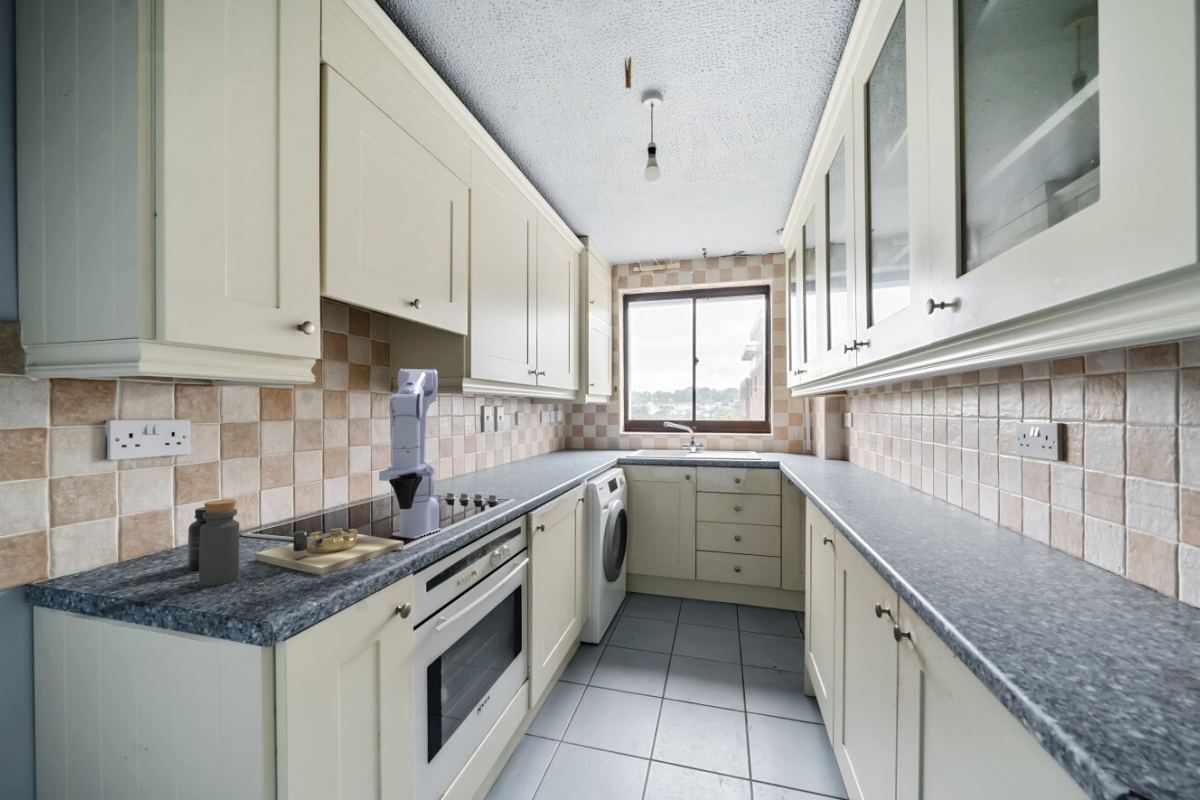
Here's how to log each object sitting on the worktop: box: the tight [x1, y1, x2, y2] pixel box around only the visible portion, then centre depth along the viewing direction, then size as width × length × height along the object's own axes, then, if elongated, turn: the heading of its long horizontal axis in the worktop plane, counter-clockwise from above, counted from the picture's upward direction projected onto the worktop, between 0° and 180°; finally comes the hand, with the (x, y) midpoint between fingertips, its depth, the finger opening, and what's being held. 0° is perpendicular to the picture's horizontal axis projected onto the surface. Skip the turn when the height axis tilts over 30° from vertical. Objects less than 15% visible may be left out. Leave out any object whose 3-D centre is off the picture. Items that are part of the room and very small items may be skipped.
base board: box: [254, 530, 405, 577], centre depth 105 cm, size 20×22×2 cm
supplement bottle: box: [187, 506, 207, 571], centre depth 97 cm, size 7×7×12 cm
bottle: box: [198, 498, 240, 587], centre depth 89 cm, size 6×6×15 cm
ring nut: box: [292, 527, 359, 553], centre depth 103 cm, size 10×15×6 cm, turn 170°
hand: (405, 508), depth 104 cm, fingers closed
